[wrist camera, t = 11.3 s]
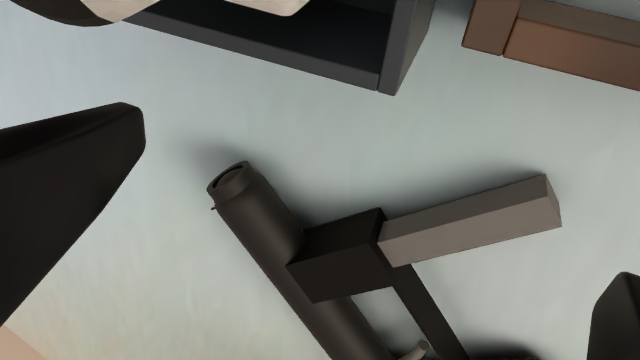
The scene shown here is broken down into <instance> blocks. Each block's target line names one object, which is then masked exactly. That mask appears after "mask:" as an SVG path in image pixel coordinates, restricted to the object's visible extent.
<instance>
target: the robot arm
mask: <svg viewBox="0 0 640 360" xmlns="http://www.w3.org/2000/svg"><path fill="white" fill-rule="evenodd" d="M145 145H146V138H145V129H144V119H143V113H142V111H141V109H139V108H138V107H136V106H133V105H130V104H127V103H124V102H117V103H113V104H109V105H104V106H100V107H96V108H91V109H87V110H82V111H78V112H74V113H69V114H65V115H61V116H56V117H52V118H48V119H43V120H39V121H34V122H30V123H26V124H21V125H17V126H13V127H8V128H4V129H0V327H1V326H2V325H3V324H4V323H5V321H6V320H7V319H8V318H9V317H10V316H11V315H12V313H13V312H14V311H15V310H16V309H17V308H18V307H19V305H20V304H21V303H22V302H23V301H24V300H25V299H26V297H27V296H28V295H29V294H30V293H31V292H32V291H33V290H34V288H35V287H36V286H37V285H38V284H39V283H40V282H41V280H42V279H43V278H44V277H45V276H46V275H47V274H48V272H49V271H50V270H51V269H52V268H53V267H54V266H55V264H56V263H57V262H58V261H59V260H60V259H61V258H62V256H63V255H64V254H65V253H66V252H67V251H68V250H69V249H70V247H71V246H72V245H73V244H74V243H75V242H76V241H77V239H78V238H79V237H80V236H81V235H82V234H83V233H84V231H85V230H86V229H87V228H88V227H89V226H90V225H91V223H92V222H93V221H94V220H95V219H96V218H97V216H98V215H99V214H100V213H101V212H102V210H103V209H104V208H105V206H106V205H107V204H108V202H109V201H110V200H111V198H112V197H113V195H114V194H115V193H116V191H117V190H118V188H119V187H120V185H121V184H122V183H123V181H124V180H125V178H126V177H127V175H128V174H129V173H130V171H131V170H132V168H133V167H134V165H135V164H136V163H137V161H138V160H139V158H140V157H141V155H142V154H143V152H144V149H145ZM587 360H640V276H638V275H635V274H632V273H629V272H621V273H619V274H618V275H617V276H616V277H615V278H614V279H613V281H612V282H611V283H610V285H609V286H608V287H607V289H606V290H605V291H604V292H603V294H602V295H601V296H600V298H599V299H598V300H597V302H596V304H595V306H594V309H593V312H592V319H591V327H590V336H589V344H588V352H587Z"/></svg>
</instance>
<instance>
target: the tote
mask: <svg viewBox="0 0 640 360" xmlns="http://www.w3.org/2000/svg"><path fill="white" fill-rule="evenodd" d="M435 1H436V0H309V1H308V2H307V3H306V4H305V5H304V6H303V7H301V8H300V9H299V10H298V11H297V12H295V13H294V14H293V15H291V16H280V15H277V14H273V13H269V12H266V11H262V10H258V9H255V8H251V7H247V6H244V5H240V4H236V3H233V2H229V1H225V0H160V1H158V2H156V3H154V4H152V5H150V6H148V7H146V8H145V9H143V10H141V11H139V12H137V13H135V14H133V15H131V16H130V17H127V18H125V19H123V20H121V21H125V22H128V23H132V24H136V25H139V26H143V27H146V28H150V29H154V30H157V31H161V32H164V33H168V34H172V35H175V36H179V37H182V38H186V39H190V40H193V41H197V42H200V43H204V44H208V45H211V46H215V47H218V48H222V49H226V50H229V51H233V52H236V53H240V54H244V55H247V56H251V57H254V58H258V59H262V60H265V61H269V62H272V63H276V64H280V65H283V66H287V67H290V68H294V69H298V70H301V71H305V72H308V73H312V74H315V75H319V76H323V77H326V78H330V79H333V80H337V81H341V82H344V83H348V84H351V85H355V86H359V87H362V88H366V89H369V90H373V91H376V90H377V91H378V92H380V93H384V94H387V95H391V96H395V95H396V93H397V91H398V89H399V87H400V85H401V83H402V81H403V79H404V77H405V75H406V73H407V71H408V69H409V67H410V65H411V63H412V61H413V59H414V57H415V56H416V54H417V52H418V50H419V48H420V46H421V44H422V42H423V40H424V38H425V36H426V34H427V31H428V28H429V24H430V20H431V16H432V12H433V8H434V5H435Z"/></svg>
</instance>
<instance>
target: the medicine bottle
mask: <svg viewBox="0 0 640 360" xmlns="http://www.w3.org/2000/svg"><path fill="white" fill-rule="evenodd" d="M10 1H12V2H14V3H16V4H17V5H19V6H21V7H23V8H26V9H28V10H30V11H32V12H34V13H36V14H39V15H41V16H43V17H45V18H48V19H50V20H54V21H57V22H60V23H64V24H68V25H75V26H82V27H91V26H103V25H108V24H112V23H116V22H118V21H121V20H123V19H125V18H127V17H130V16H131V15H133V14H135V13H137V12H139V11H141V10H143V9H145V8H146V7H148V6H150V5H152V4H154V3H156V2H158V1H160V0H10ZM225 1H229V2H233V3H236V4H240V5H244V6H247V7H251V8H255V9H258V10H262V11H266V12H269V13H273V14H277V15H280V16H291V15H293V14H294V13H295V12H297V11H298V10H299V9H300V8H301V7H303V6H304V5H305V4H306V3H307V2H308V1H309V0H225Z"/></svg>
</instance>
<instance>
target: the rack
mask: <svg viewBox="0 0 640 360" xmlns="http://www.w3.org/2000/svg"><path fill="white" fill-rule="evenodd" d="M461 46H462V47H465V48H469V49H473V50H477V51H481V52H485V53H489V54H493V55H497V56H501V55H502V54H503V57H505V58H509V59H513V60H517V61H521V62H525V63H529V64H533V65H537V66H541V67H545V68H548V69H552V70H556V71H560V72H564V73H568V74H572V75H576V76H580V77H584V78H588V79H592V80H596V81H600V82H604V83H608V84H612V85H616V86H620V87H624V88H628V89H632V90H636V91H640V22H637V21H633V20H628V19H624V18H620V17H615V16H611V15H606V14H602V13H598V12H593V11H589V10H584V9H580V8H576V7H571V6H567V5H563V4H558V3H554V2H549V1H545V0H475V1H474V4H473V7H472V10H471V14H470V17H469V20H468V23H467V26H466V30H465V33H464V36H463V39H462V43H461Z"/></svg>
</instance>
